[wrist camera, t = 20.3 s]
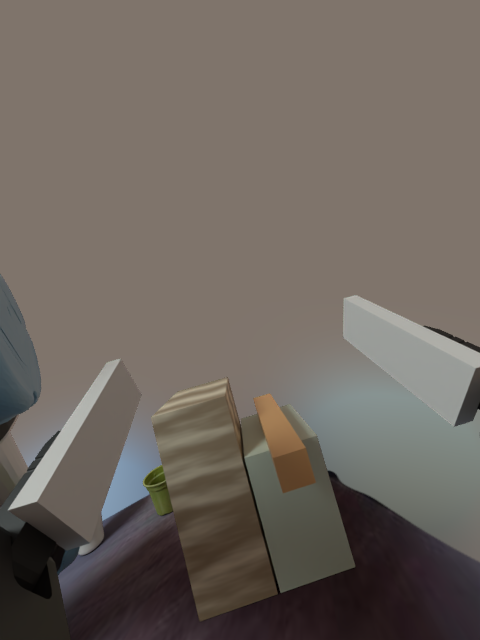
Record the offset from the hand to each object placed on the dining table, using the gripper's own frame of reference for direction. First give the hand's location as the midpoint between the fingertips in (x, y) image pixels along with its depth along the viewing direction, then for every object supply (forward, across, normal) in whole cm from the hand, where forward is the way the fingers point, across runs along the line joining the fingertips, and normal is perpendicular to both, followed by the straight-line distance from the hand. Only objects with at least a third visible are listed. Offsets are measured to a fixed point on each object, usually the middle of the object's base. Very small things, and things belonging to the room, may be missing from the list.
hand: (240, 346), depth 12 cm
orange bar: (+12, +3, -28) cm, 31 cm away
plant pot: (+22, -28, -58) cm, 68 cm away
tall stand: (+7, -10, -48) cm, 49 cm away
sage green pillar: (+7, +3, -48) cm, 48 cm away
